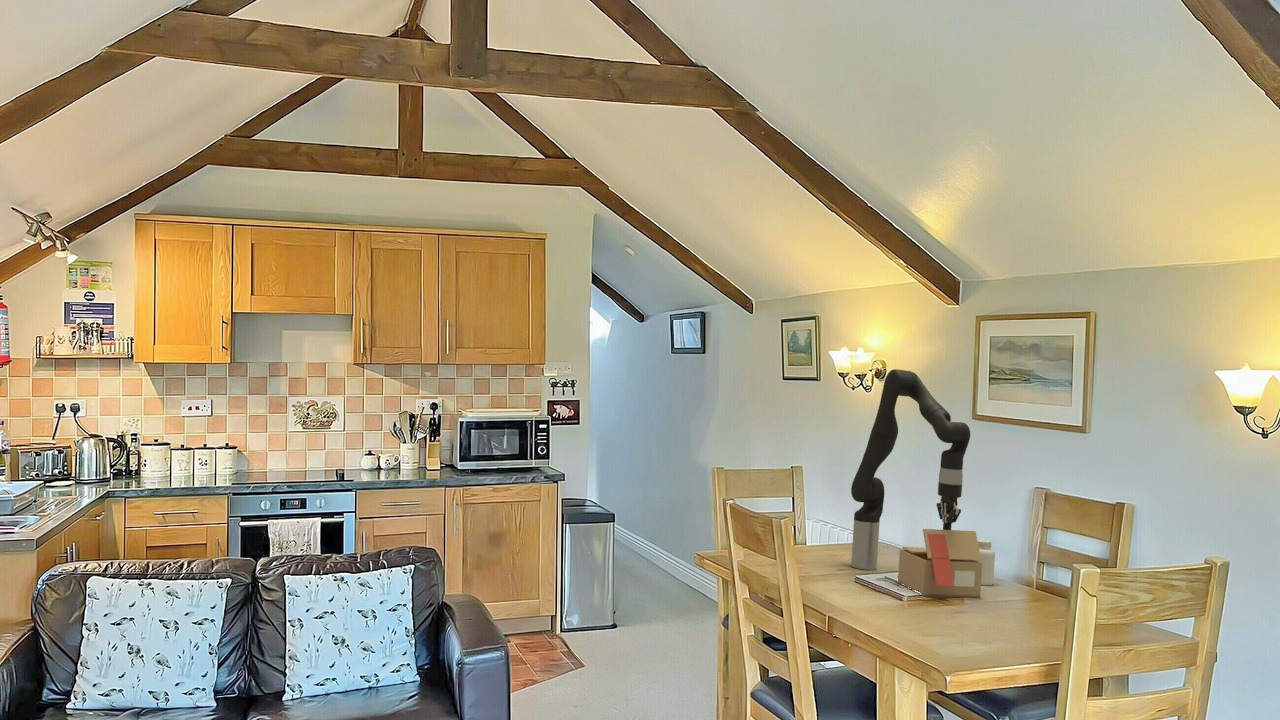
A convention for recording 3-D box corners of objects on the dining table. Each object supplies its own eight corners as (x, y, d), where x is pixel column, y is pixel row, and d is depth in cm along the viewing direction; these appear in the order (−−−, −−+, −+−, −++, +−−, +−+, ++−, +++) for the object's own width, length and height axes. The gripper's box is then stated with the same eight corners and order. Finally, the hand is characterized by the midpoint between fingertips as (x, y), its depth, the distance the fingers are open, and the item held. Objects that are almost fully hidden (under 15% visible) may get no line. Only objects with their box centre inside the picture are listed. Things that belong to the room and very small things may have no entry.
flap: (922, 529, 318) (923, 528, 318) (974, 531, 321) (975, 530, 321) (932, 586, 309) (933, 585, 308) (985, 588, 312) (987, 587, 311)
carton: (897, 582, 332) (900, 546, 332) (952, 584, 335) (954, 548, 336) (923, 595, 313) (925, 557, 314) (980, 597, 317) (982, 559, 317)
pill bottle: (968, 583, 339) (971, 540, 340) (969, 579, 347) (972, 537, 347) (992, 586, 336) (995, 543, 337) (993, 582, 344) (996, 540, 344)
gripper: (970, 485, 315) (967, 538, 316) (951, 479, 328) (947, 530, 329) (949, 484, 314) (945, 537, 314) (930, 478, 327) (926, 529, 327)
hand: (946, 534), depth 321 cm, fingers closed
